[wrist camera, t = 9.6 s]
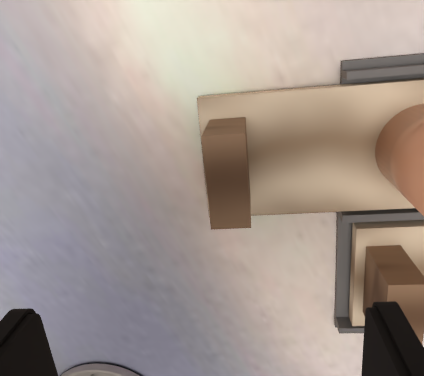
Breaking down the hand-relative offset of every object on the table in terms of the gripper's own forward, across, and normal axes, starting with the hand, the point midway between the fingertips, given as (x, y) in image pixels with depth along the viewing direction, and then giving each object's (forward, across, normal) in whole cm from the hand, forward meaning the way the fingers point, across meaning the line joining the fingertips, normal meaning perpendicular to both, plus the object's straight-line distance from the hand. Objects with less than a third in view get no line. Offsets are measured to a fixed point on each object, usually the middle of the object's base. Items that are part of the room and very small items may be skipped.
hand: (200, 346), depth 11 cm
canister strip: (+20, -9, 0) cm, 22 cm away
